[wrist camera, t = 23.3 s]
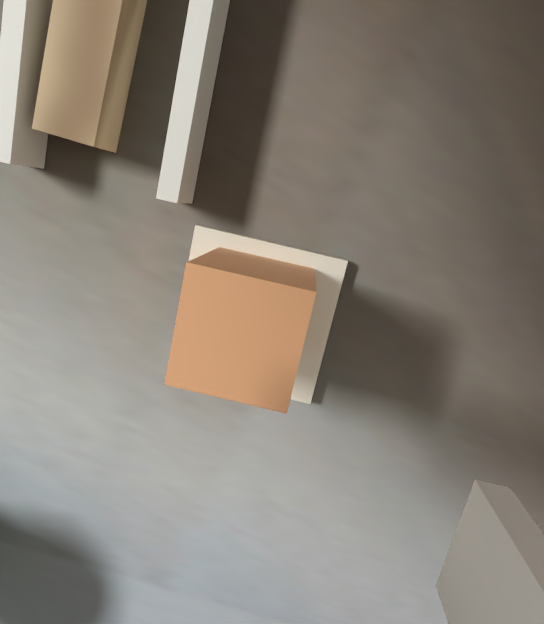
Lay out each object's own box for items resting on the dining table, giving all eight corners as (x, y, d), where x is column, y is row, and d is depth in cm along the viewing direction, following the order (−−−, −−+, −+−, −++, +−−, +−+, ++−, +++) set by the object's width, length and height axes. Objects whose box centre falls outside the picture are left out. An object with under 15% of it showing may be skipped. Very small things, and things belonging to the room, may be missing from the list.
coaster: (171, 366, 27) (168, 369, 27) (198, 224, 26) (195, 225, 25) (310, 399, 27) (310, 404, 27) (347, 259, 25) (348, 261, 25)
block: (201, 338, 26) (164, 384, 20) (219, 246, 25) (186, 262, 18) (292, 359, 26) (286, 413, 19) (314, 268, 25) (316, 292, 18)
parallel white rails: (25, 164, 26) (-11, 159, 23) (53, -96, 23) (16, -140, 20) (192, 203, 25) (177, 203, 23) (240, -55, 23) (230, -93, 20)
